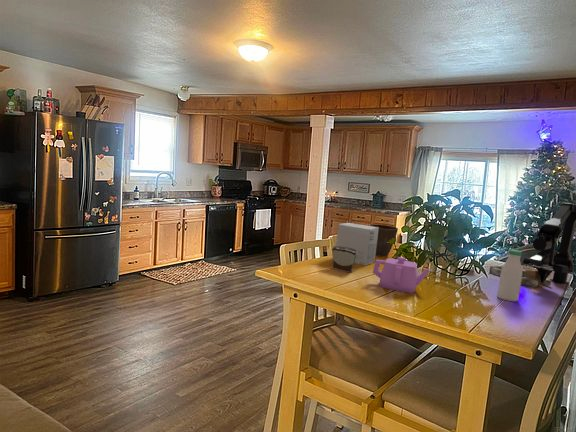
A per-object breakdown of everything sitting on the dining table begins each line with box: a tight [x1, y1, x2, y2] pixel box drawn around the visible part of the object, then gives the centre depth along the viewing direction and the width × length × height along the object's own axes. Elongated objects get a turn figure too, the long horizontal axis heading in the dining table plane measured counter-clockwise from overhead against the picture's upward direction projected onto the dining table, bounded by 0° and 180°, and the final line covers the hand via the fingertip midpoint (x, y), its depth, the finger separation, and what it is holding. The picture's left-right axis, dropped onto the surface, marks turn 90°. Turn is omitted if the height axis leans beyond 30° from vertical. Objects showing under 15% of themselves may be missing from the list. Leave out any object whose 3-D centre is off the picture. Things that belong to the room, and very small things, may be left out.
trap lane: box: [489, 265, 552, 288], centre depth 207 cm, size 25×21×4 cm
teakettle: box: [372, 256, 431, 294], centre depth 170 cm, size 17×17×12 cm
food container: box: [331, 245, 358, 274], centre depth 191 cm, size 12×6×10 cm, turn 58°
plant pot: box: [370, 224, 399, 257], centre depth 233 cm, size 15×15×16 cm
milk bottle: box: [496, 249, 523, 302], centre depth 169 cm, size 8×8×20 cm
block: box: [525, 270, 543, 285], centre depth 200 cm, size 5×5×6 cm
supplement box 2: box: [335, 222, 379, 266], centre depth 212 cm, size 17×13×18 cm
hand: (542, 283), depth 196 cm, fingers closed
